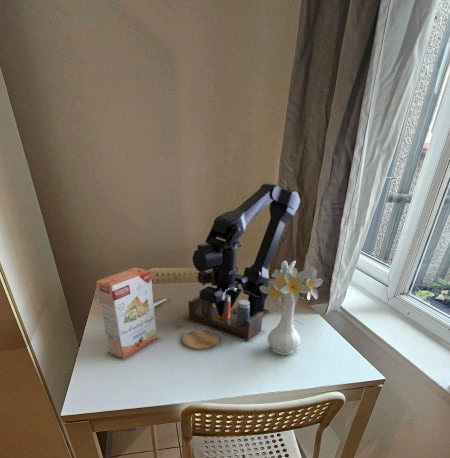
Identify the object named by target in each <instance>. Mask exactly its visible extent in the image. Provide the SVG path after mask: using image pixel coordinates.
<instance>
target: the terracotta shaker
mask: <svg viewBox="0 0 450 458" xmlns="http://www.w3.org/2000/svg"><path fill="white" fill-rule="evenodd" d="M225 297H227V298H228V301H227V304H226V307H225V310H224V313H223V316H219V318H220V319H223V320H227V319H229V318H230V313H232V312H231V310H232V308H231V296H230V295H227V294H225Z"/></svg>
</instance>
